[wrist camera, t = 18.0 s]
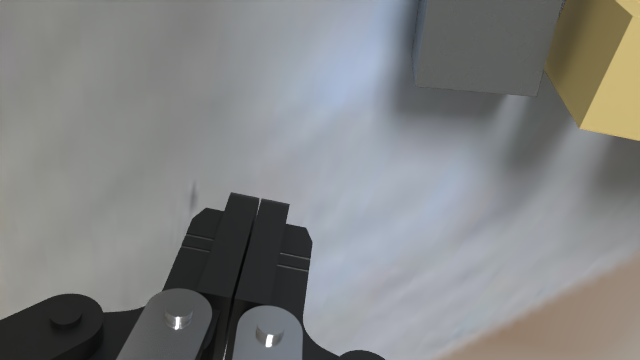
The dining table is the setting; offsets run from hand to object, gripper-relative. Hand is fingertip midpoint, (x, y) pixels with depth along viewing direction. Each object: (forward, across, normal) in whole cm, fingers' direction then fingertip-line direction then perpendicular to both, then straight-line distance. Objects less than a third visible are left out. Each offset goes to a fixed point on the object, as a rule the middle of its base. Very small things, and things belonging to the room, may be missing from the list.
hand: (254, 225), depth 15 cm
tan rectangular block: (+26, -17, 0) cm, 30 cm away
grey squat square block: (+26, -10, 0) cm, 27 cm away
